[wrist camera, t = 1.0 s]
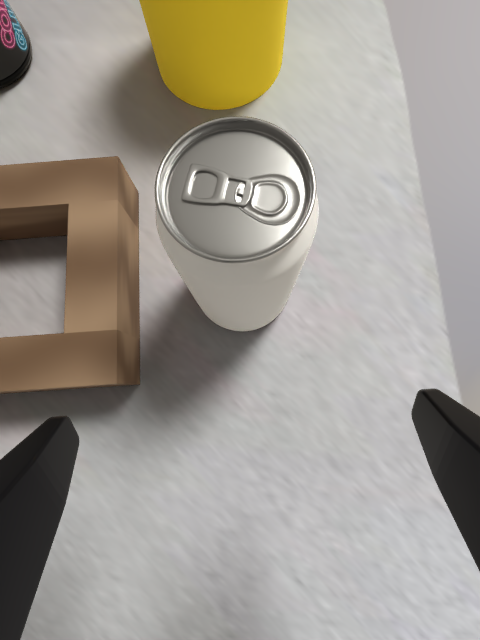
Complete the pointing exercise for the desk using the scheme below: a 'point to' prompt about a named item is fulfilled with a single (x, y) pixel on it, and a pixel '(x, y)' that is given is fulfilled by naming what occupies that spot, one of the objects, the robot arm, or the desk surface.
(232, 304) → the can
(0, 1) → the supplement container
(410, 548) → the desk surface
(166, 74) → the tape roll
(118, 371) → the bored block
